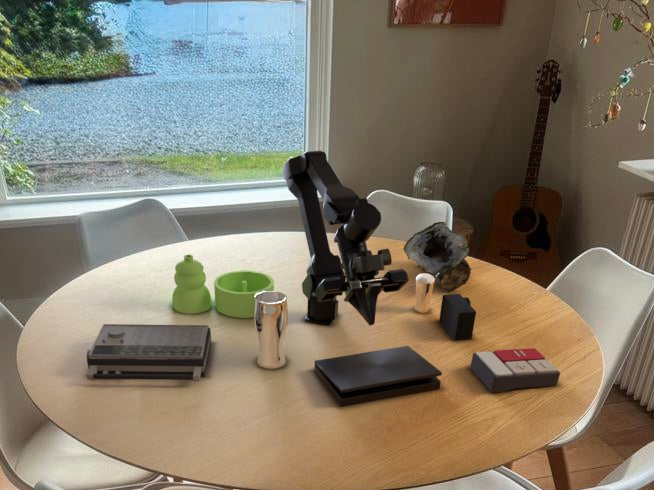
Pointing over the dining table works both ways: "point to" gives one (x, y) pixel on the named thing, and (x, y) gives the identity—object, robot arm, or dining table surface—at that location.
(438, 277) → the hollow geode rock
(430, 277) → the shiny metal cylinder
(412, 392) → the dark flat rectangular base
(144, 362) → the radio
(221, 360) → the dining table surface
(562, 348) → the dining table surface
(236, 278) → the green toy parts
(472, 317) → the digital camera
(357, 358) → the netbook screen
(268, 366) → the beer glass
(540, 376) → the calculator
